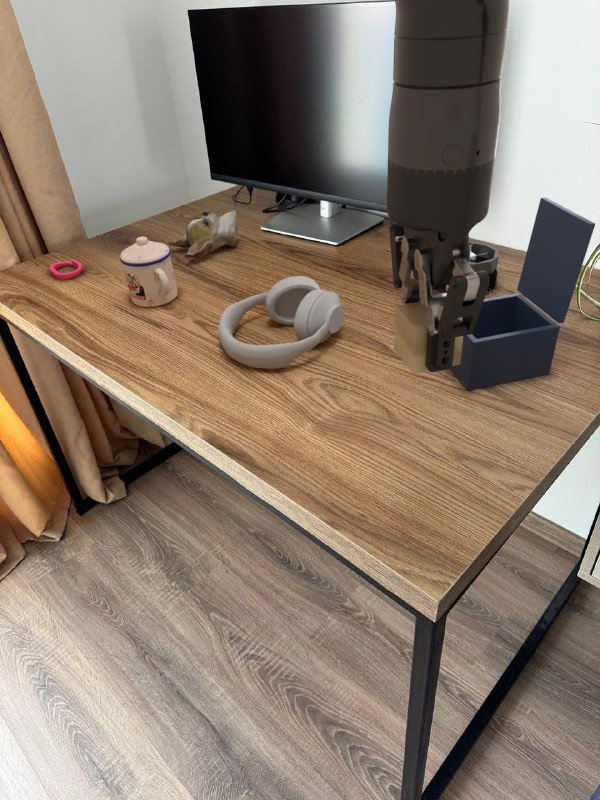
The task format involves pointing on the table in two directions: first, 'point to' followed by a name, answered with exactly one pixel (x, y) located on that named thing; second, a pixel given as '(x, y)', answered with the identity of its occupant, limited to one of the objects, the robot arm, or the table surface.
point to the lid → (554, 258)
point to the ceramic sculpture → (208, 234)
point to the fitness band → (66, 275)
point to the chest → (507, 343)
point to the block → (416, 336)
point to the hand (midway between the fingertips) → (426, 352)
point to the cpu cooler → (484, 260)
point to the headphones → (284, 322)
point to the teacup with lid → (149, 273)
